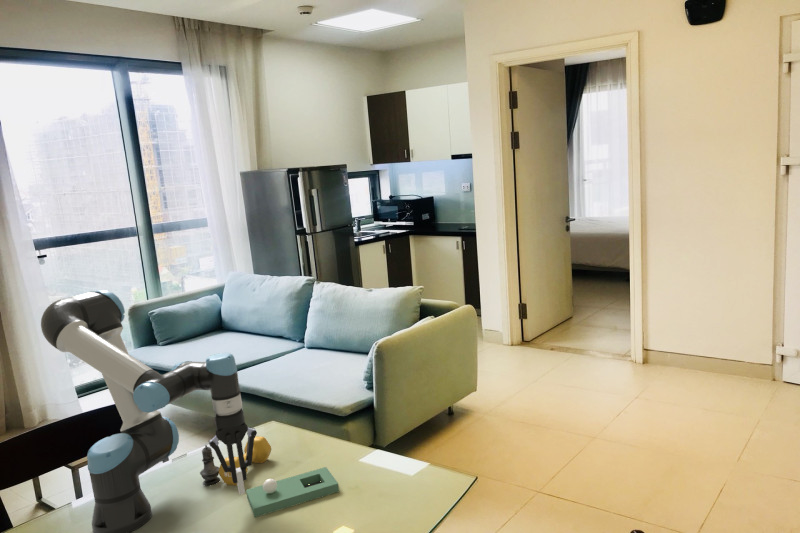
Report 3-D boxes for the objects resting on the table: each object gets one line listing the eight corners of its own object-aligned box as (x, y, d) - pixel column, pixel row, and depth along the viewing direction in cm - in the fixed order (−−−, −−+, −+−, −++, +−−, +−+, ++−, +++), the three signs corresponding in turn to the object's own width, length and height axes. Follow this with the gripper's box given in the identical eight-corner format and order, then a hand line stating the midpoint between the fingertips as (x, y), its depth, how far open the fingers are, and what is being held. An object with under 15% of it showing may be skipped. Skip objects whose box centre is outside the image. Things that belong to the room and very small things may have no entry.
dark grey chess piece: (202, 488, 186) (196, 450, 184) (200, 480, 191) (194, 443, 190) (222, 482, 188) (217, 445, 186) (220, 475, 194) (214, 438, 192)
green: (254, 517, 166) (253, 508, 166) (247, 497, 177) (245, 489, 177) (339, 491, 175) (338, 483, 175) (327, 474, 186) (326, 466, 186)
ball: (265, 497, 171) (263, 484, 170) (262, 491, 175) (260, 478, 174) (279, 493, 173) (277, 480, 172) (276, 487, 176) (274, 474, 176)
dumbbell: (243, 488, 184) (239, 462, 182) (217, 486, 187) (213, 461, 185) (275, 458, 201) (272, 435, 200) (251, 457, 204) (247, 434, 203)
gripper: (205, 421, 161) (219, 505, 164) (255, 408, 166) (267, 490, 169) (202, 412, 168) (215, 493, 171) (250, 400, 173) (262, 479, 176)
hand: (241, 491), depth 170 cm, fingers closed
